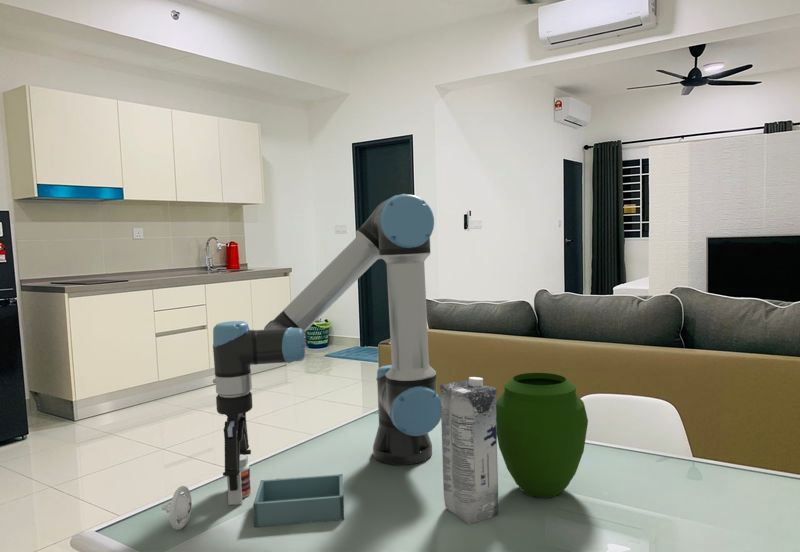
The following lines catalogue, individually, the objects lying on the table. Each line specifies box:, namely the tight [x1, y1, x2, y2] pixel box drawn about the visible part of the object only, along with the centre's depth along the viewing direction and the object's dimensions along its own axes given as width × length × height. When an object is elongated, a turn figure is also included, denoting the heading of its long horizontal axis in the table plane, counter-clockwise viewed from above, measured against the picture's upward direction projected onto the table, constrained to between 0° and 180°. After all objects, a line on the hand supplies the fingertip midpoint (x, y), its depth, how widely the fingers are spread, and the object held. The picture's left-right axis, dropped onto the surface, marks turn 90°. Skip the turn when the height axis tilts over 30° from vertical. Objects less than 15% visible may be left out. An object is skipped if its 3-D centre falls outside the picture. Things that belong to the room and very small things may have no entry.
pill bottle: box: [239, 455, 252, 499], centre depth 129 cm, size 5×5×8 cm
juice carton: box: [439, 376, 499, 525], centre depth 117 cm, size 9×10×27 cm
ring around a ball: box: [161, 485, 193, 531], centre depth 115 cm, size 8×6×8 cm
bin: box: [252, 473, 345, 528], centre depth 121 cm, size 17×11×5 cm, turn 96°
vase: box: [496, 372, 589, 499], centre depth 125 cm, size 20×20×24 cm
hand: (239, 493), depth 129 cm, fingers open, 9 cm apart
